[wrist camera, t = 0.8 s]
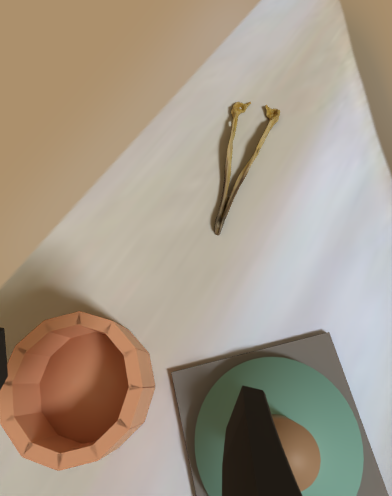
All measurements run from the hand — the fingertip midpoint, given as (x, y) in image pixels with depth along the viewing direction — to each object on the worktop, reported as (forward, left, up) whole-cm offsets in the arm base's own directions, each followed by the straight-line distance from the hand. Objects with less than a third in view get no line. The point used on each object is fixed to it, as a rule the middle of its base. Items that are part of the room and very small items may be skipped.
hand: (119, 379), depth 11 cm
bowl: (+1, +6, -15) cm, 16 cm away
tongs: (+15, -9, -16) cm, 23 cm away
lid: (-5, -5, -14) cm, 16 cm away
